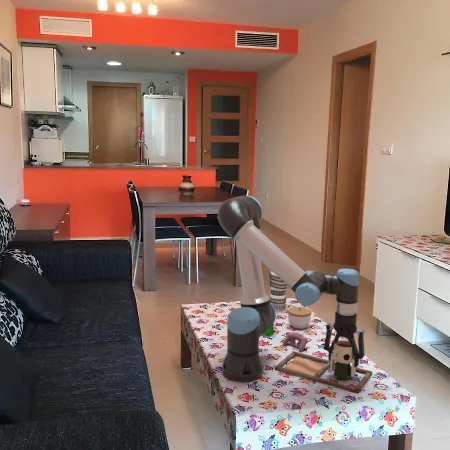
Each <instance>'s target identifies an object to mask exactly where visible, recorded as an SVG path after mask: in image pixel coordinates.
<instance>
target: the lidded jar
mask: <svg viewBox="0 0 450 450" xmlns="http://www.w3.org/2000/svg"><path fill="white" fill-rule="evenodd" d="M311 317H312V310H311V309H310V308H307V307H305V306H304V307H302V306H293V307H290V308H288V309H287V319H288V322H289V324H290V325H291V327H292V328H294V329H297V330H303V329H305V328H307V326H309V324H310V322H311Z"/></svg>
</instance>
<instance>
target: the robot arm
mask: <svg viewBox="0 0 450 450" xmlns="http://www.w3.org/2000/svg"><path fill="white" fill-rule="evenodd" d="M262 215H263V206H262V204H261V203H260V201H259V200H258V199H257V198H255V196H252V195H240V196H239V195H238V196H236V197H233V198H231V197H230V198H228V199H226V200H224V201H222V203H221V204H220V205H219V207H218V208H217V220H218V222H219V225H220V226H221V228H222V229H223V230H224V232H225V233H227V235H229V237H231V238H232V239H233V241H234V242H235V245H236V253H237V258H238V259H237V261H238V266H239V274H240V281H241V288H242V294H243V296H242V298H241V300H240V301H239V302H240V303H239V304H240V307H239V308H238V307H237V308H234V309H232V310H231V311H230V312H229V314H228V315H227V322H226V324H227V325H226V327H227V331H226V332H227V336H226V339H227V343H226V347H227V348H226V349H227V351H226V355H225V357H224V360H223V363H222V366H221V367H222V370H221V372H222V375H223V376H224V377H225V378H227V379H229V380H231V381H235V382H240V383H241V382H244V383H247V382H252V381H256V380H259V379H260V378H261V377H262V376H263V374H264V373H263V372H264V365H263V362H262V360H261V357H260V352H259V351H260V350H259V349H260V338H261V337H262V336H264V335H263V334H264V333H265V332H266V331H267V330H269V329H270V328H271V327H272V325H273V326H274V324H275V322H276V318H277V313H276V311H275V308H274V306H273V305H272V304H271V303H270V296H269V295H267V294H266V290H265V282H264V274H263V268H262V263H263V264H264V266H266V267H267V268H268V269H269V270H270V272H271V271H272V272H274V273H275V274H276V275H277V276H278V277H279V278H280V279H281V280H282V281H283V282H284V283H285V284H286V285H287V286H286V287H289V288H290V289H291V290H292V292H294V296H295V299H296V301H297V302H298V303H299V304H300V305H301V306H304V307H310V306H312V305H313V304H316V303H317V302H318V301H319V300H320V298H321V297H322V296H323V295H324V294H326V295H330V296H331V295H333V296H335V297H336V298H335V309H334V310H335V312H334V313H335V315H334V323H331V322H329V323H328V324H326V325H325V327H326V328H325V329H326V332H325V333H326V334H325V338H324V344H323V351H327V352H328V356H327V358H328V359H327V360H329V361H331V363H330V368H329V370H330V371H334V369H335V362H336V361H335V360H333V352H334V343H337V342H338V340H340V338H345V339H347V341H349V343H350V346H351V347H352V352H353V356H354V357H353V358H352V363H351V366H352V368H351V377H354V376H355V375H356V368H359V367H358V366H359V363H360V360H362V359H364V357H365V356H366V355H365V341H364V339H365V338H364V336H365V333H366V331H365V330H364V329H363V330H362V329H361V330H360V329H358V327H357V316H358V314H357V312H358V304H359V303H358V300H359V299H358V298H359V286H360V278H359V277H360V275H359V272H358V271H357V270H355V269H352V268H340V269H338V270H337V273H331V272H324V271H323V272H322V271H318V270H306V271H305V270H303V269H302V268H301V267H300V266H299V265H298V264H296V262H294V260H292V259H291V258H290V257H289V256H288V255H287V254H286V253H284V251H282V250H281V248H279V247H278V246H277V244H275V243H274V242H273V241H271V239H269V238H268V237H267V235H265V234H264V232H262V231H261V224H260V223H261V222H260V220H261V219H262ZM333 329H334V331H335V332H336V334H335V336H334V338H333V340H332V342H331V338H332V333H333ZM355 334H356V336H357V343H356V340H355ZM357 344H358V345H357Z"/></svg>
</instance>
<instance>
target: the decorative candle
mask: <svg viewBox="0 0 450 450" xmlns="http://www.w3.org/2000/svg"><path fill="white" fill-rule="evenodd" d="M269 285H270V286H269V289H270V295H269V298H270V303H271V304H272V305H273V306H274V308H275V311H276V314H283V313H286V311H287V294H286V292H287V291H286V290H287V289H288V288H287V287H288V286H287V285H286V284H285V283H284V282H283V281H282V280H281V279H280V278H279V277H278V276H277V275H276V274H275V273H274V272H272V271H271V270H270V272H269Z"/></svg>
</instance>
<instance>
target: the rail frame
mask: <svg viewBox="0 0 450 450" xmlns="http://www.w3.org/2000/svg"><path fill="white" fill-rule="evenodd" d="M336 362H337V361H335V364H336ZM330 363H331V361H329V360H328V359H326V358H325V359H324V358H323V357H322V358H321V357H317V356H313V355H309V354H305V353H303V352H302V353H301V352H297V351H292V352H291V353H289V354H288V355H287V356H286V357H285V358H284V359H282V360H281V361H280V362H279V363H278V364H276V365H275V366H274V369H273V370H275V371H277V372H282V373H285V374H288V375H293V376H295V377H299V378H303V379H306V380H309V381H313V382H316V383H319V384H323V385H327V386H330V387H334V388H337V389H342V390H345V391H349V392H351V393H355V394H359V393H360V392H361V390H362V389H363V387H364V386H365V385H366V384H367V382H368V381H369V379H370V378H371V376H372V375H373V371H372V370H368V369H364V368H360V367H357V368H356V372H357V373H360V374H364V376H363V377H362V379H360V380H359V382H358V384H357V385H356V386H355V387H354V386H351V385H346V384H344V383H340V382H336V381H333V380H329V379H325V378H322V377H321V376H323V374H325V372H326V371H327V370H328V369H330V368H329V367H330ZM351 368H352V365H351ZM356 372H355V373H356Z"/></svg>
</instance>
